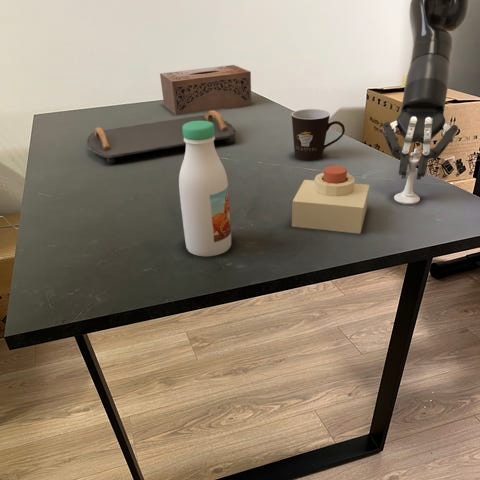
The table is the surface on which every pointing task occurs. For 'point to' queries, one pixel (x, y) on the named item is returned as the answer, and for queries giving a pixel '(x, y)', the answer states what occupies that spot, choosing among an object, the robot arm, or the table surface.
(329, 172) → the lid button
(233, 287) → the table surface
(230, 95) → the tissue box cover
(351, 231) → the button base
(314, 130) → the coffee mug
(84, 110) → the table surface
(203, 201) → the milk bottle
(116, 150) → the serving tray
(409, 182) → the chess piece
